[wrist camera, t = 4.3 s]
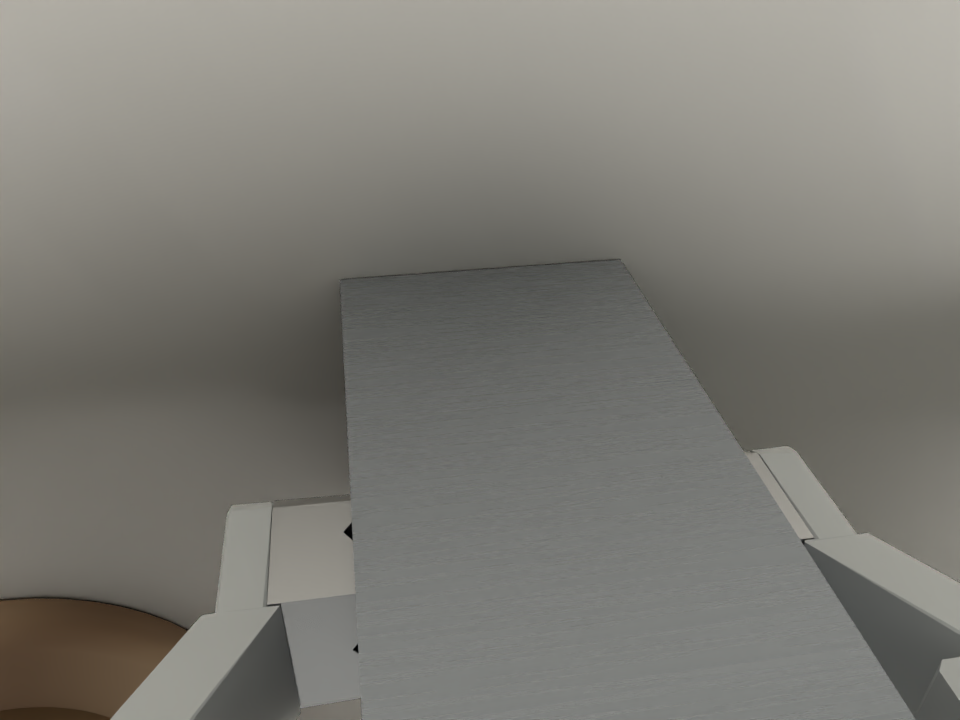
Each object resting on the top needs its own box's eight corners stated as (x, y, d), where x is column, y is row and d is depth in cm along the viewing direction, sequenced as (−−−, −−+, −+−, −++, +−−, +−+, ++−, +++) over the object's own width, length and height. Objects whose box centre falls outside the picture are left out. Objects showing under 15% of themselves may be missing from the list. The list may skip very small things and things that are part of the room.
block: (620, 259, 12) (976, 816, 6) (596, 468, 14) (830, 1037, 8) (340, 279, 12) (373, 922, 5) (361, 493, 14) (402, 1128, 7)
